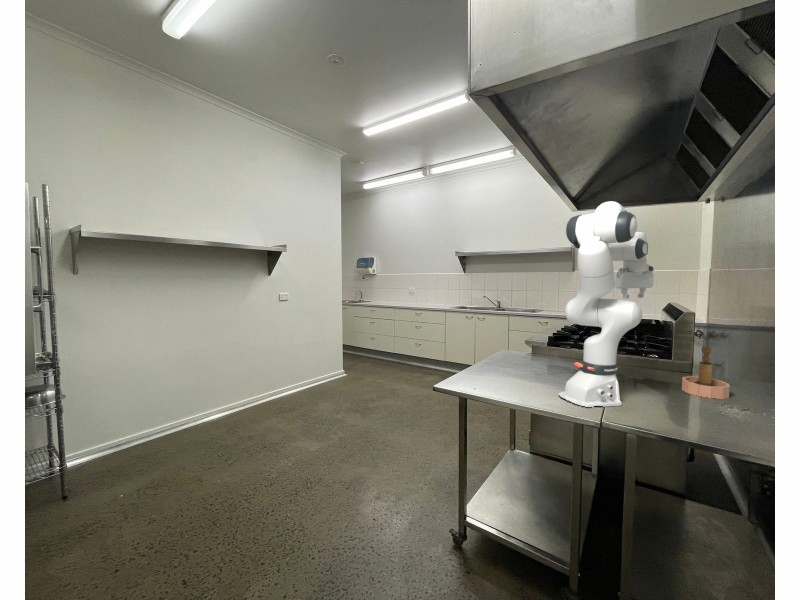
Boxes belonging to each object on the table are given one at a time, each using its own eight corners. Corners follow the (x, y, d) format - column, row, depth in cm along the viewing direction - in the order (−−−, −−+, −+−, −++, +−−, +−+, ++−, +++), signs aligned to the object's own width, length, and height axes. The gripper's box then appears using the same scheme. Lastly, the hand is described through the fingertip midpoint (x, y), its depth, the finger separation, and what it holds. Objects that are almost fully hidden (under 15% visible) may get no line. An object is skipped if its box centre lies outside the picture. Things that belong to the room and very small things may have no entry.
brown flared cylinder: (720, 392, 131) (722, 348, 130) (703, 392, 131) (705, 348, 130) (705, 387, 137) (707, 344, 136) (689, 387, 138) (691, 344, 136)
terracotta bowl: (714, 400, 126) (714, 389, 125) (673, 388, 139) (674, 378, 138) (737, 396, 130) (738, 384, 130) (695, 385, 143) (696, 374, 143)
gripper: (624, 268, 145) (623, 299, 146) (657, 267, 152) (655, 297, 153) (611, 268, 151) (610, 298, 152) (643, 267, 158) (642, 296, 159)
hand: (633, 298), depth 153 cm, fingers open, 8 cm apart
